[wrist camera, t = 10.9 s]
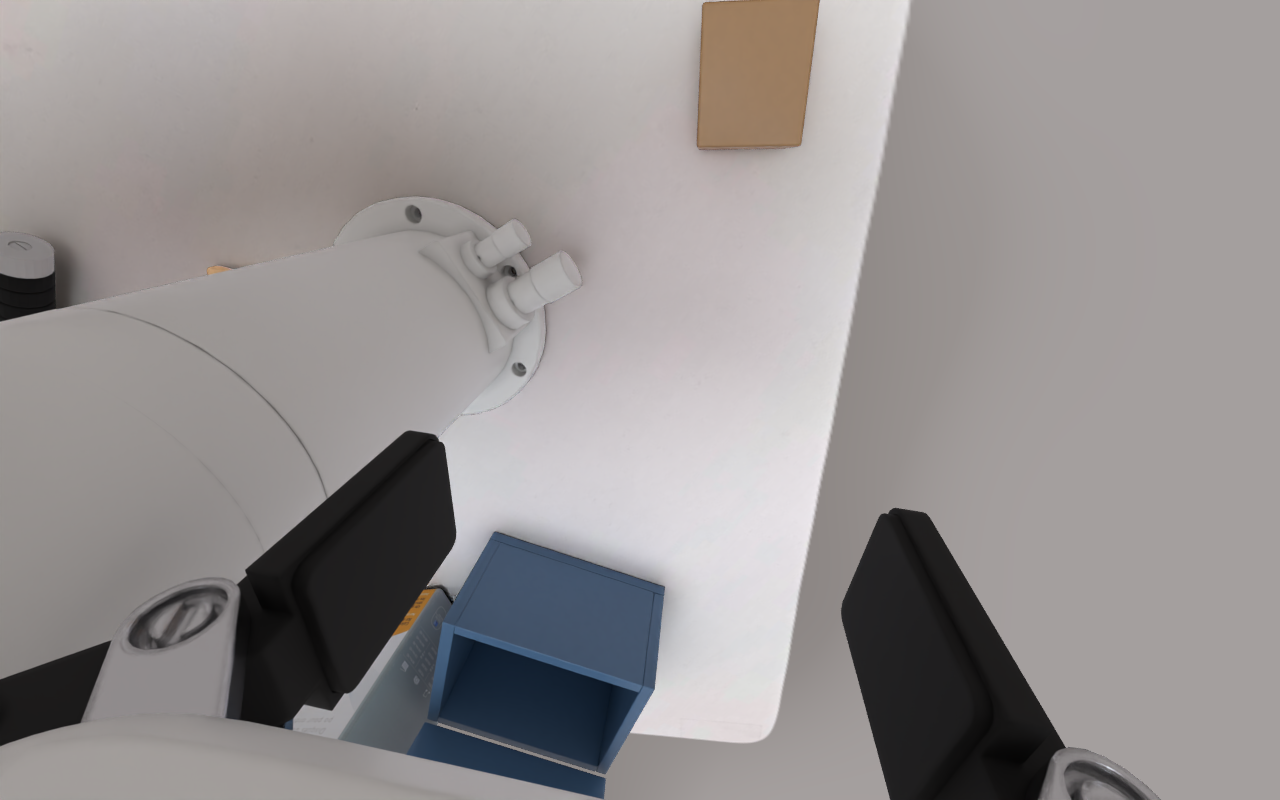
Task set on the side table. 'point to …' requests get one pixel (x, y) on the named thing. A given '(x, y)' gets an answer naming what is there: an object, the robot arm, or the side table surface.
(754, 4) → the package
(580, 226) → the side table surface
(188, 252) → the side table surface
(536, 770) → the lid
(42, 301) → the knife
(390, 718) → the hard drive box
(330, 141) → the side table surface
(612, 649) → the blue open box
